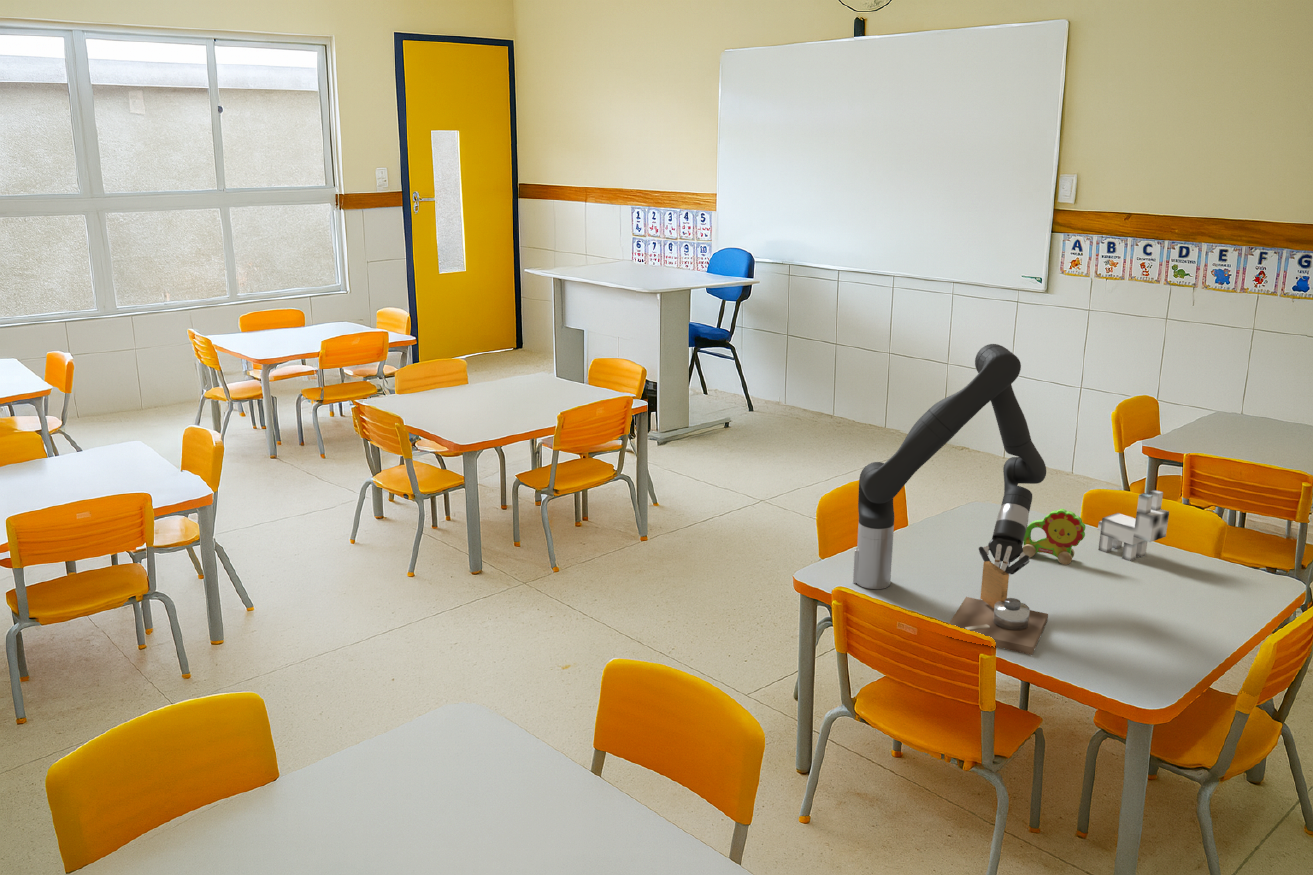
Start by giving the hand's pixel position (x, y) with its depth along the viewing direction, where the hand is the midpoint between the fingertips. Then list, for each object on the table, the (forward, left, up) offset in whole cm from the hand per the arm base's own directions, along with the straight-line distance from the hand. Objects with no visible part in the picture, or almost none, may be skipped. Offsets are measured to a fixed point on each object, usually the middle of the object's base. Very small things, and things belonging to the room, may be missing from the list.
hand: (996, 586), depth 248 cm
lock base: (+3, -8, -7) cm, 11 cm away
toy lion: (+7, +44, -8) cm, 45 cm away
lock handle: (+3, -5, -5) cm, 8 cm away
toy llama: (+25, +58, -8) cm, 63 cm away
